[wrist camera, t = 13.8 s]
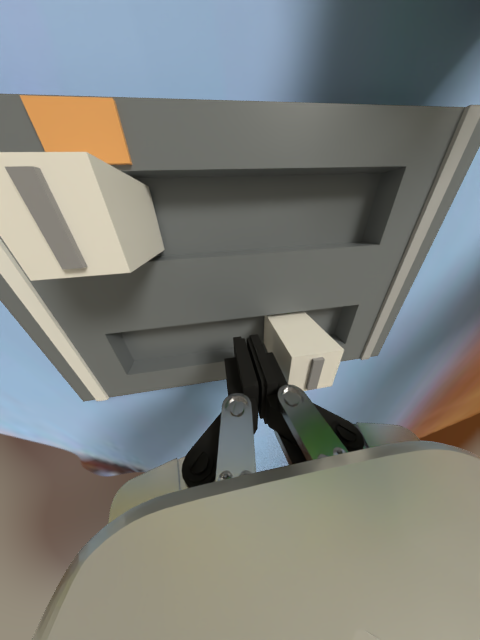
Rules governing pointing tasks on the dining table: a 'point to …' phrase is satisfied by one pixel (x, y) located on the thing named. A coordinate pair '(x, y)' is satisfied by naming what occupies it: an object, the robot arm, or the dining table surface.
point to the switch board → (239, 227)
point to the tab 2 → (302, 350)
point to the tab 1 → (74, 215)
